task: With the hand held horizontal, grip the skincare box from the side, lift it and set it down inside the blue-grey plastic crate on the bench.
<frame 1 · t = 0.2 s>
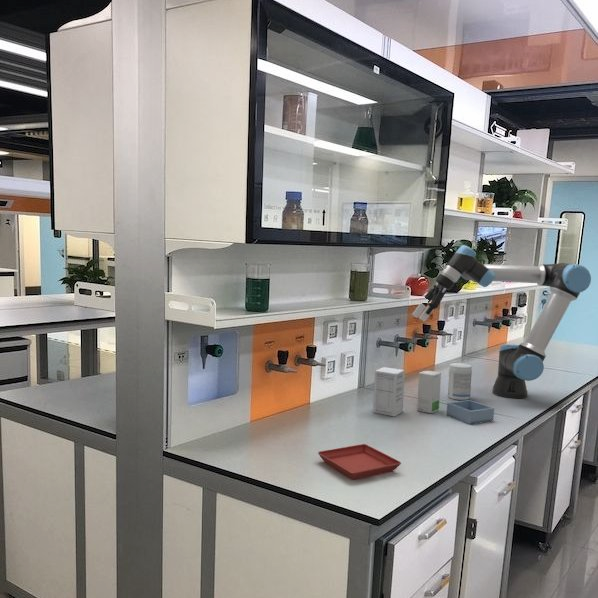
hand: (417, 318, 248), 35 cm above the worktop, tool tilted 35°, fingers open, 13 cm apart
supplement tub: (458, 398, 256), on the worktop
skincare box: (427, 410, 234), on the worktop
crate: (469, 418, 226), on the worktop
supplement box: (387, 412, 229), on the worktop
plant saucer: (358, 468, 171), on the worktop
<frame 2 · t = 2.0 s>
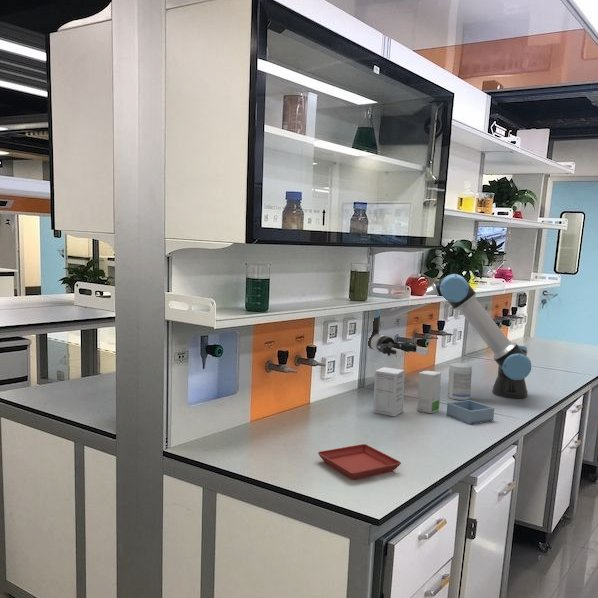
hand: (414, 353, 240), 22 cm above the worktop, tool horizontal, fingers open, 13 cm apart
nothing on the worktop moved.
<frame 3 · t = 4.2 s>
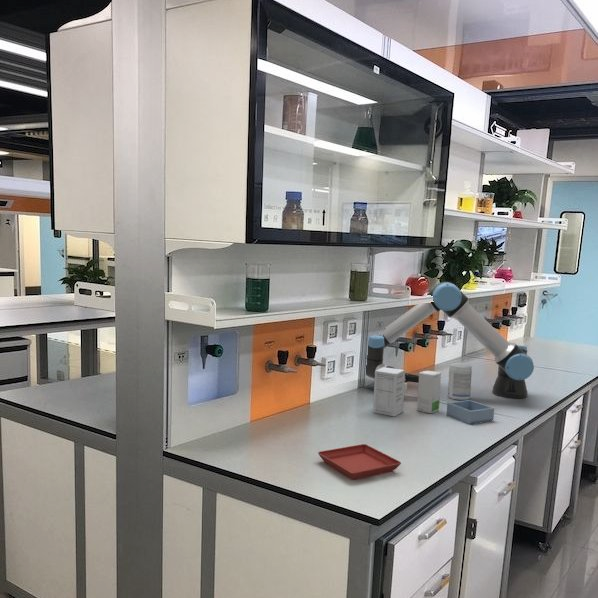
hand: (419, 385, 237), 9 cm above the worktop, tool horizontal, fingers open, 13 cm apart
nothing on the worktop moved.
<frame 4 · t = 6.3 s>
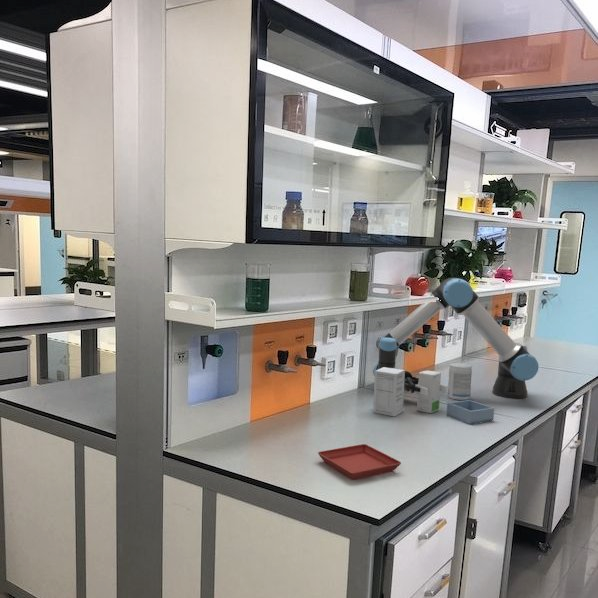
hand: (436, 390, 229), 9 cm above the worktop, tool horizontal, fingers closed on skincare box, 9 cm apart
skincare box: (427, 410, 234), on the worktop, touching gripper
everything else where it was.
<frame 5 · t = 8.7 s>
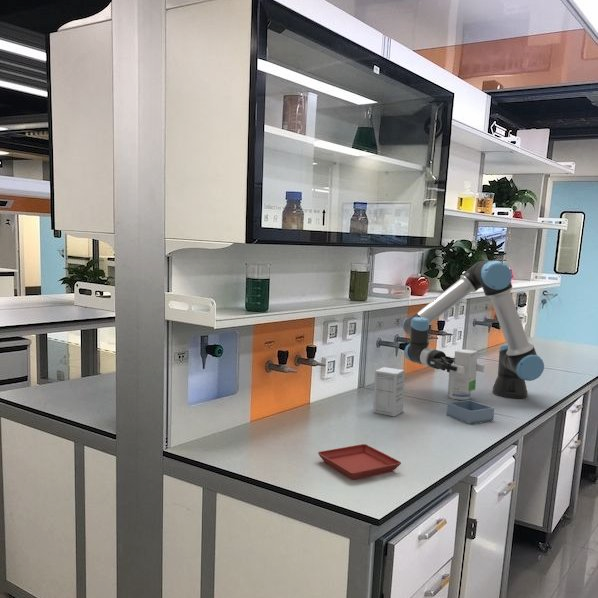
hand: (473, 369, 221), 20 cm above the worktop, tool horizontal, fingers closed on skincare box, 9 cm apart
skincare box: (463, 390, 226), point 10 cm above the worktop, touching gripper
everything else where it was.
when the fingers open (11 cm above the worktop, at t = 11.0 s): skincare box drops 2 cm, resting on crate.
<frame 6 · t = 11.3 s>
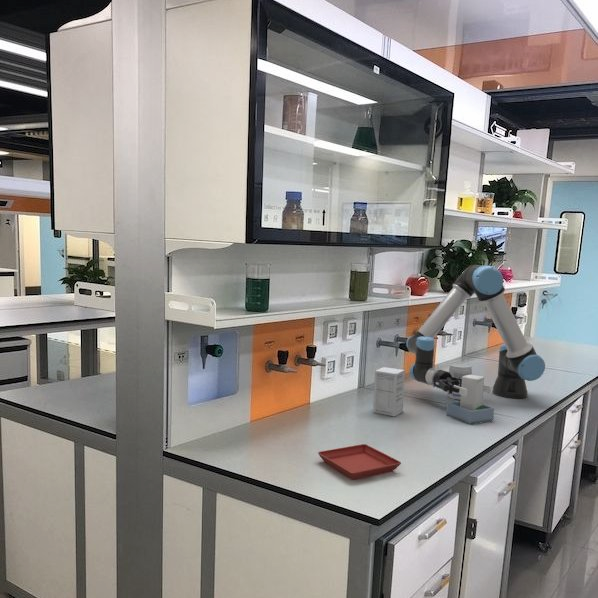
hand: (478, 391, 221), 11 cm above the worktop, tool horizontal, fingers open, 12 cm apart
skincare box: (470, 416, 226), point 1 cm above the worktop, touching crate
everything else where it was.
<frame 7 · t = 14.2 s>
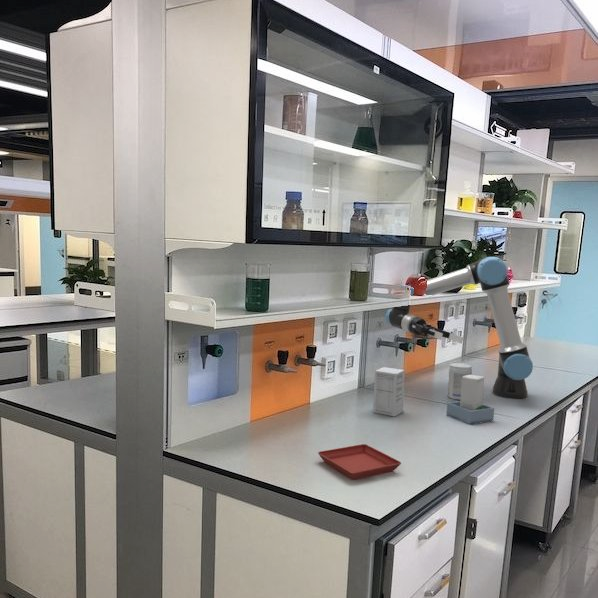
hand: (452, 338, 237), 29 cm above the worktop, tool horizontal, fingers open, 13 cm apart
nothing on the worktop moved.
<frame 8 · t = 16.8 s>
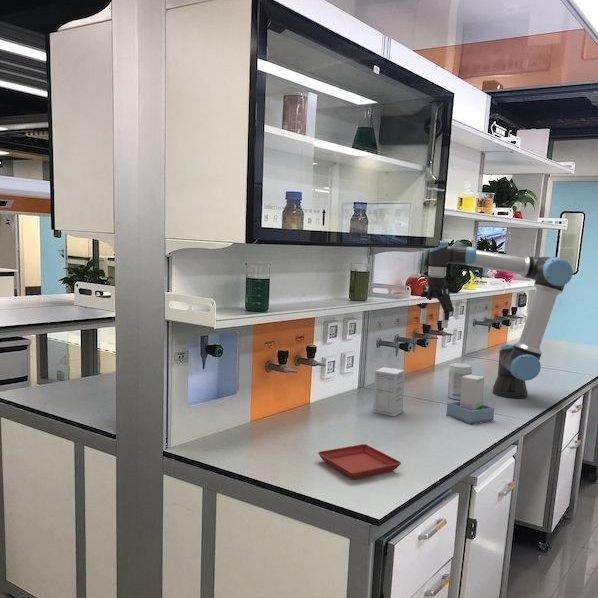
hand: (433, 325, 252), 32 cm above the worktop, tool pointing down, fingers open, 13 cm apart
nothing on the worktop moved.
at the end: skincare box inside the target area on the crate (0.4 cm from its centre), point 0.6 cm above the crate's base; skincare box tilted 0°; the gripper is holding nothing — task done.
